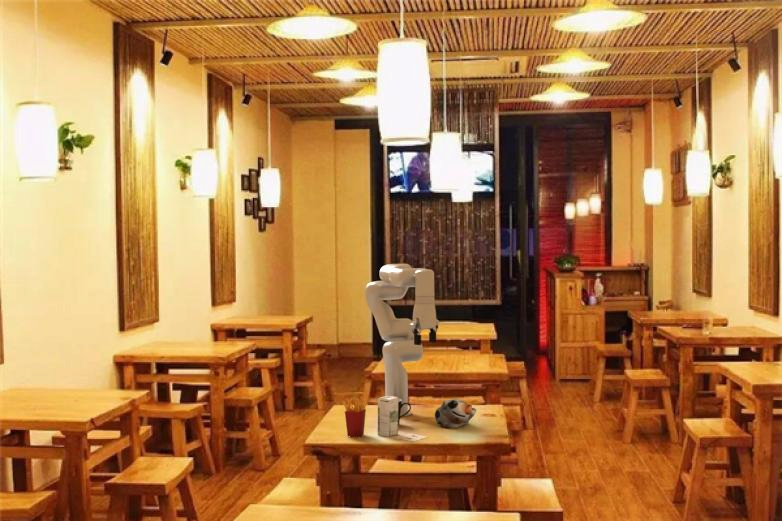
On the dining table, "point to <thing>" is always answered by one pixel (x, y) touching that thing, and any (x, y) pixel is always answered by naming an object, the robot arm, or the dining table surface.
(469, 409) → the lucky cat figurine
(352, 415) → the french fries
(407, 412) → the coffee mug
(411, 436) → the tile
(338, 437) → the dining table surface
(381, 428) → the syrup box
